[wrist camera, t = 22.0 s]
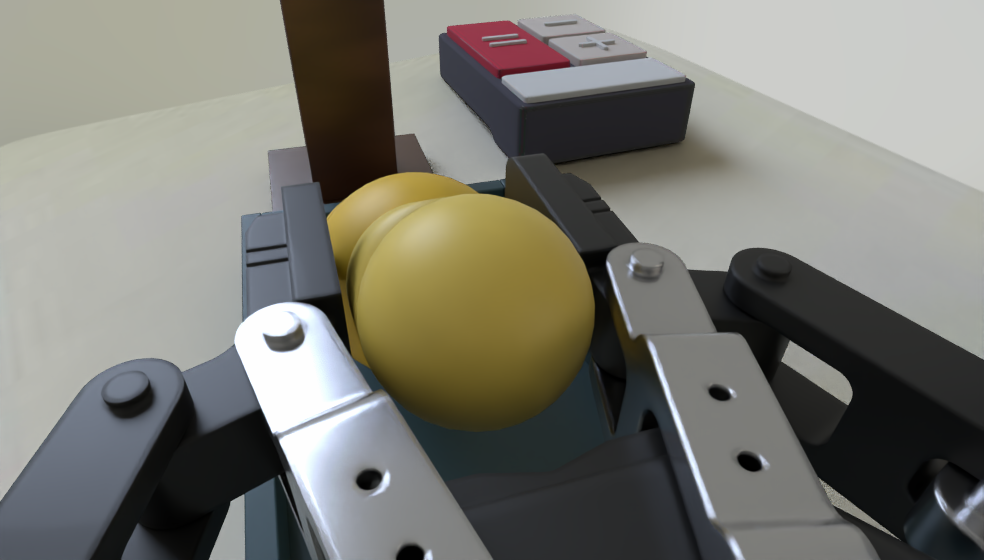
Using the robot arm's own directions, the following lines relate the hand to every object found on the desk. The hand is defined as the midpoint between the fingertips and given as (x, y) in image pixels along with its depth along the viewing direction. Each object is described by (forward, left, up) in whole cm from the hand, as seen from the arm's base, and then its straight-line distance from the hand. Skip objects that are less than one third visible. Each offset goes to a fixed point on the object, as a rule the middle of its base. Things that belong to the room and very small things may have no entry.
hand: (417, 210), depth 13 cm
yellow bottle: (0, -1, -5) cm, 5 cm away
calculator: (-14, -26, -11) cm, 32 cm away
